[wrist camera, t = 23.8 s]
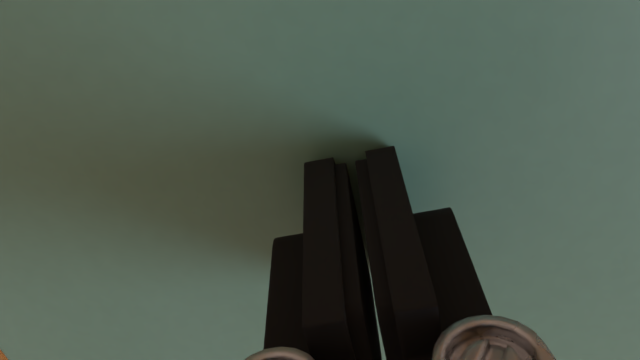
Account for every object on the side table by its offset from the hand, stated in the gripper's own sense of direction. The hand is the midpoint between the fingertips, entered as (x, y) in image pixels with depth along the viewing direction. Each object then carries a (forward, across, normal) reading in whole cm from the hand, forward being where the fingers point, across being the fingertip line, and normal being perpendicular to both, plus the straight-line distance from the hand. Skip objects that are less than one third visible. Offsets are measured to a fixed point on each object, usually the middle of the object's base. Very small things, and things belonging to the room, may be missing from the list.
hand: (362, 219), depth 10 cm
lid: (+1, +1, 0) cm, 2 cm away
